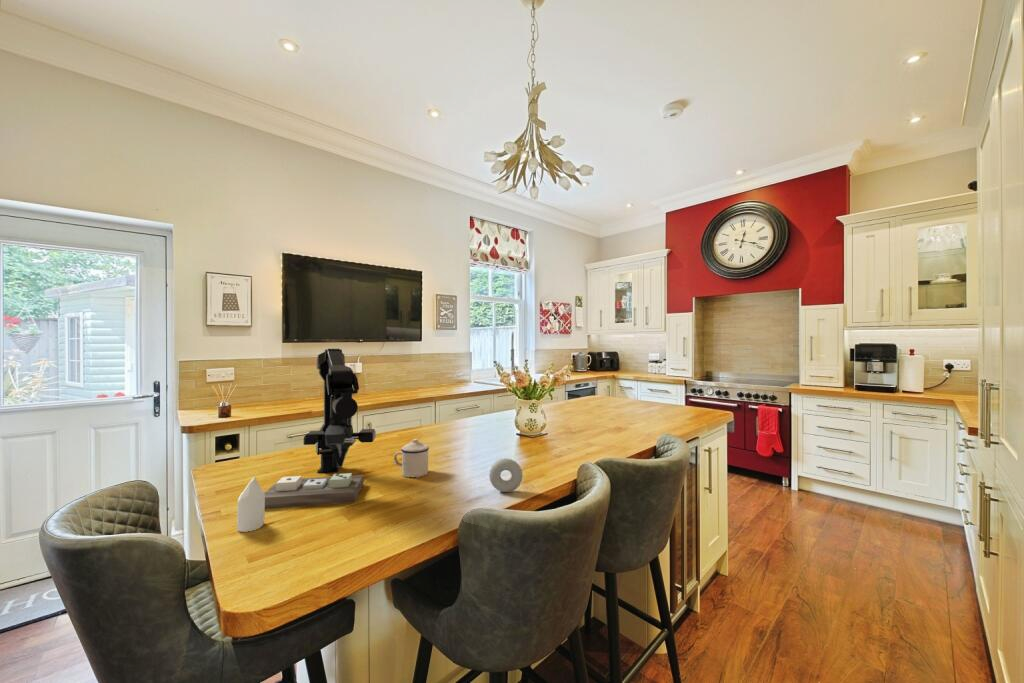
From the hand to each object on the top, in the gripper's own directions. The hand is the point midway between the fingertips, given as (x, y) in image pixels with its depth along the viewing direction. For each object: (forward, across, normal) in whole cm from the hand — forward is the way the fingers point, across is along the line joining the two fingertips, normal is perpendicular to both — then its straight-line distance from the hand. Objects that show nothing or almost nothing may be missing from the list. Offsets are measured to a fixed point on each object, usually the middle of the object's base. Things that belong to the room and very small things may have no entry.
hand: (340, 465), depth 116 cm
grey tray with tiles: (+8, -7, 0) cm, 11 cm away
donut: (+8, +48, -7) cm, 49 cm away
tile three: (+6, 0, 0) cm, 6 cm away
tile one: (+6, -14, 0) cm, 15 cm away
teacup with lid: (+8, +19, +15) cm, 26 cm away
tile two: (+7, -7, 0) cm, 10 cm away
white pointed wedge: (+8, -16, -18) cm, 25 cm away
